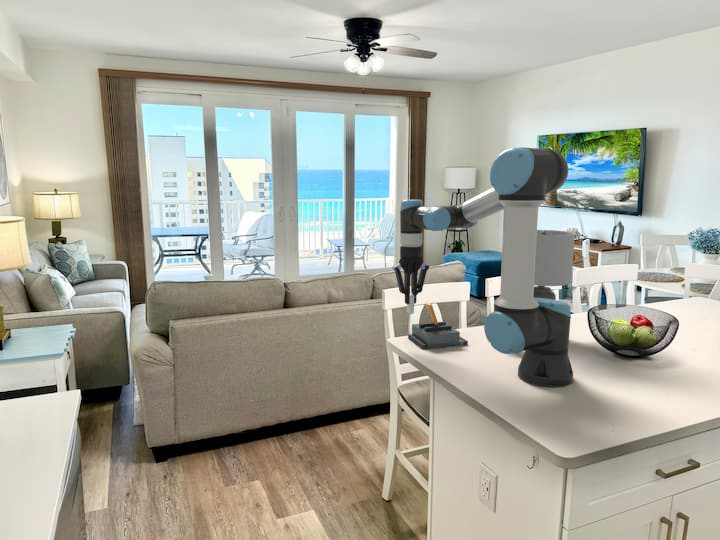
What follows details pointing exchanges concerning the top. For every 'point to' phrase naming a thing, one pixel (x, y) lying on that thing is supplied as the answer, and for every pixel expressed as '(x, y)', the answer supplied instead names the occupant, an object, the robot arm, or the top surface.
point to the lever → (432, 314)
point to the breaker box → (436, 335)
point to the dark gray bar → (417, 341)
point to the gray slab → (463, 342)
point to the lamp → (553, 261)
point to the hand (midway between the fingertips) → (410, 312)
